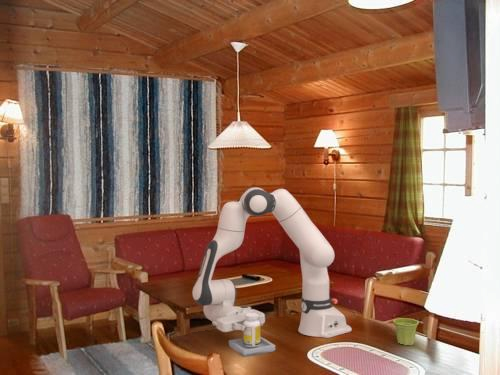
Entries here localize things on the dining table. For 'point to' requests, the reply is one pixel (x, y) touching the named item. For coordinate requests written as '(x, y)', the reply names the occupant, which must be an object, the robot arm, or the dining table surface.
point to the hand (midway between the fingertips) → (253, 326)
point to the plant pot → (405, 330)
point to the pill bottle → (251, 330)
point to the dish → (249, 351)
